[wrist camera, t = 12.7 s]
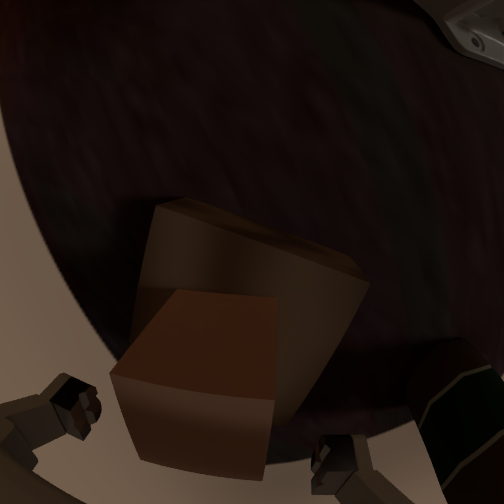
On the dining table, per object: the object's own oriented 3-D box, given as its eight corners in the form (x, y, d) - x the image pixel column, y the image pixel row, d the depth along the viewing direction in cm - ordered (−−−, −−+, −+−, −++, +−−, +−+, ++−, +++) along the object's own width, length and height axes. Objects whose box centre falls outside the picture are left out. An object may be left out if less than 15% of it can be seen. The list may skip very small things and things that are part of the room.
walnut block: (348, 255, 18) (370, 283, 13) (285, 380, 21) (285, 427, 16) (187, 196, 18) (155, 205, 13) (153, 333, 21) (125, 370, 16)
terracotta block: (277, 297, 14) (275, 400, 7) (269, 376, 15) (262, 481, 8) (177, 288, 14) (109, 372, 7) (183, 367, 16) (140, 459, 9)
